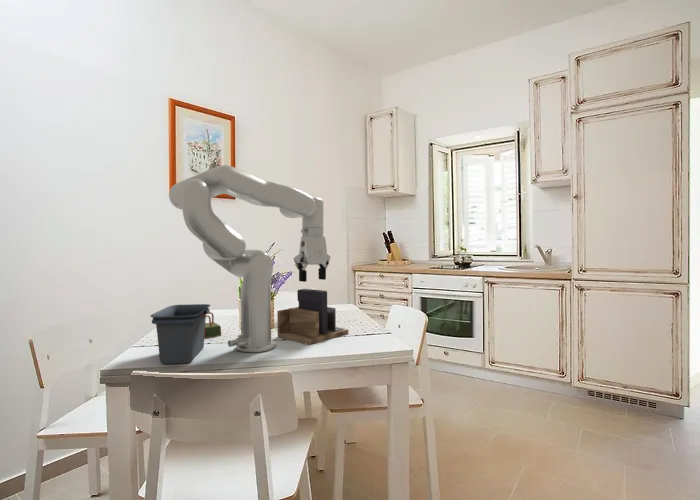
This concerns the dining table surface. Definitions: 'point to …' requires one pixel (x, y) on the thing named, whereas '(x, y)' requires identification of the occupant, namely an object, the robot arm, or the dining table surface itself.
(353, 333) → the dining table surface
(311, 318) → the wooden desk organizer
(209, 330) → the green handled box
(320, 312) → the black upright block
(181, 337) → the storage bin
